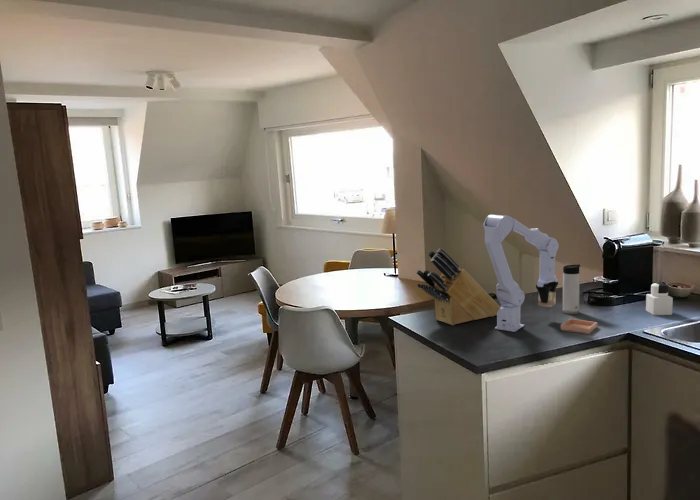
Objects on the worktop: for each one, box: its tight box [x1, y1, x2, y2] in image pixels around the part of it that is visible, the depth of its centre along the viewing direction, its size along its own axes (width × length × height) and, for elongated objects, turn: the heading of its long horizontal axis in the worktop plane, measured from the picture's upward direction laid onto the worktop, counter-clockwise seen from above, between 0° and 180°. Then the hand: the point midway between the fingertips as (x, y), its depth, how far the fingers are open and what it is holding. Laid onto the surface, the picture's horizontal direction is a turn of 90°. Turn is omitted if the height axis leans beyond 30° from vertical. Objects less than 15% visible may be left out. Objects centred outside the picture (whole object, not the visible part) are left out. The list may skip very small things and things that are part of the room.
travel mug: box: [562, 264, 581, 315], centre depth 224 cm, size 6×7×20 cm
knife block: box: [415, 248, 501, 326], centre depth 220 cm, size 11×35×31 cm, turn 117°
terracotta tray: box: [560, 318, 598, 335], centre depth 203 cm, size 10×10×2 cm
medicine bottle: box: [645, 282, 674, 316], centre depth 217 cm, size 7×7×12 cm
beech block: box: [537, 291, 557, 308], centre depth 215 cm, size 5×5×5 cm
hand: (546, 301), depth 215 cm, fingers closed on beech block, 5 cm apart
